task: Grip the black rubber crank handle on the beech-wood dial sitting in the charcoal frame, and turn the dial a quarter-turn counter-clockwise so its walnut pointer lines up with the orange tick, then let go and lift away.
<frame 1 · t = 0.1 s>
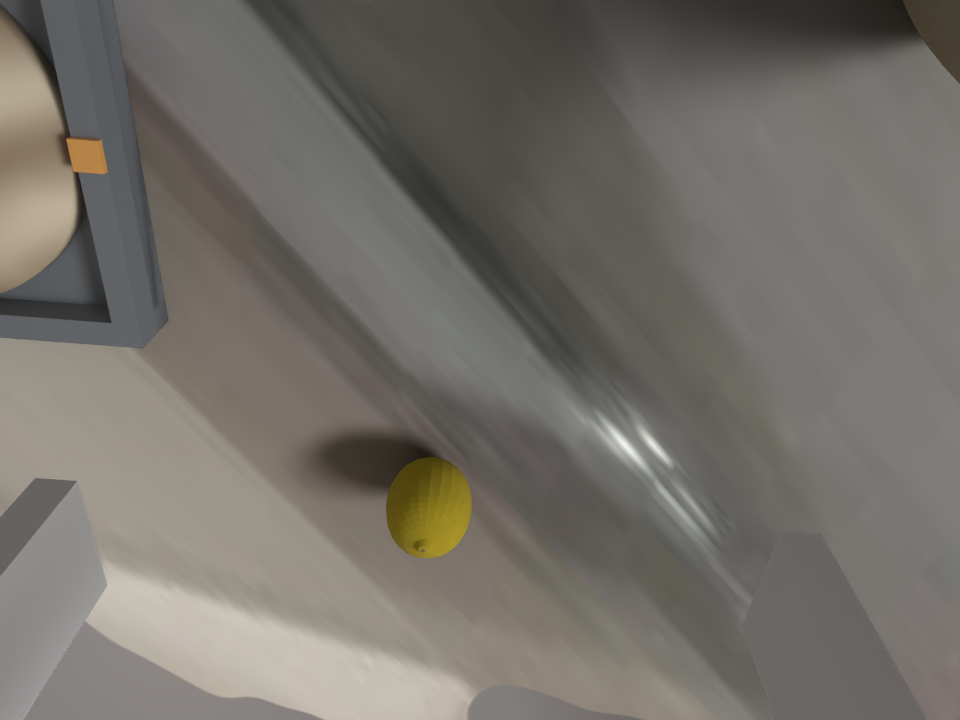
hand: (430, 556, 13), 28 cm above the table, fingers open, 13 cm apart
lemon: (434, 464, 48), on the table
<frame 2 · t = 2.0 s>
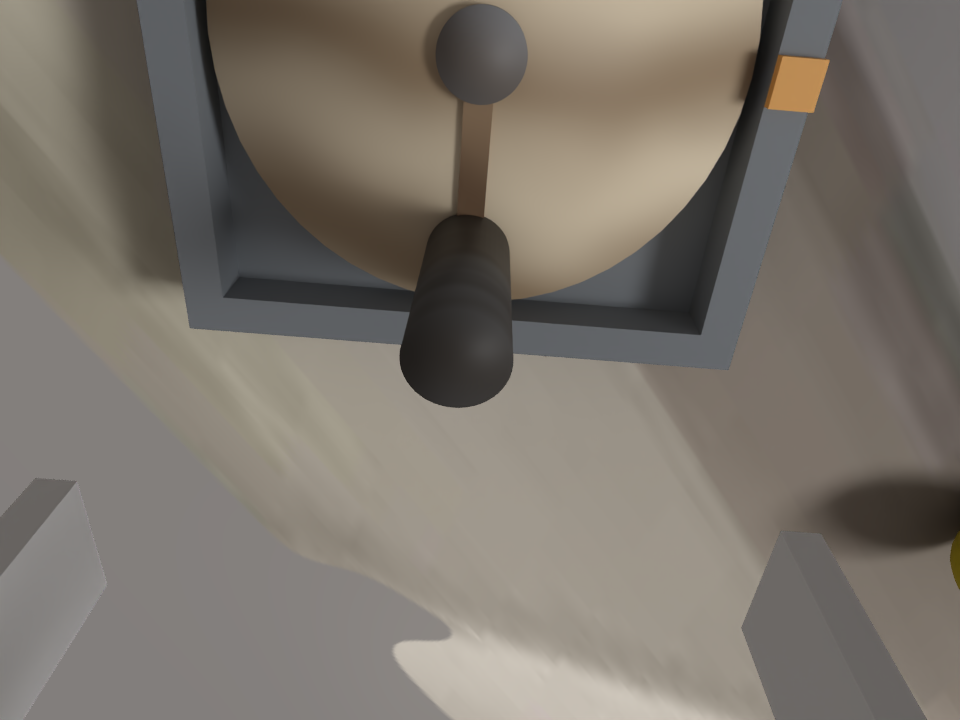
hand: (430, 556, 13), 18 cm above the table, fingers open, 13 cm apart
dial: (479, 69, 20), point 6 cm above the table, hinge at 0.0°
dial frame: (483, 44, 25), on the table
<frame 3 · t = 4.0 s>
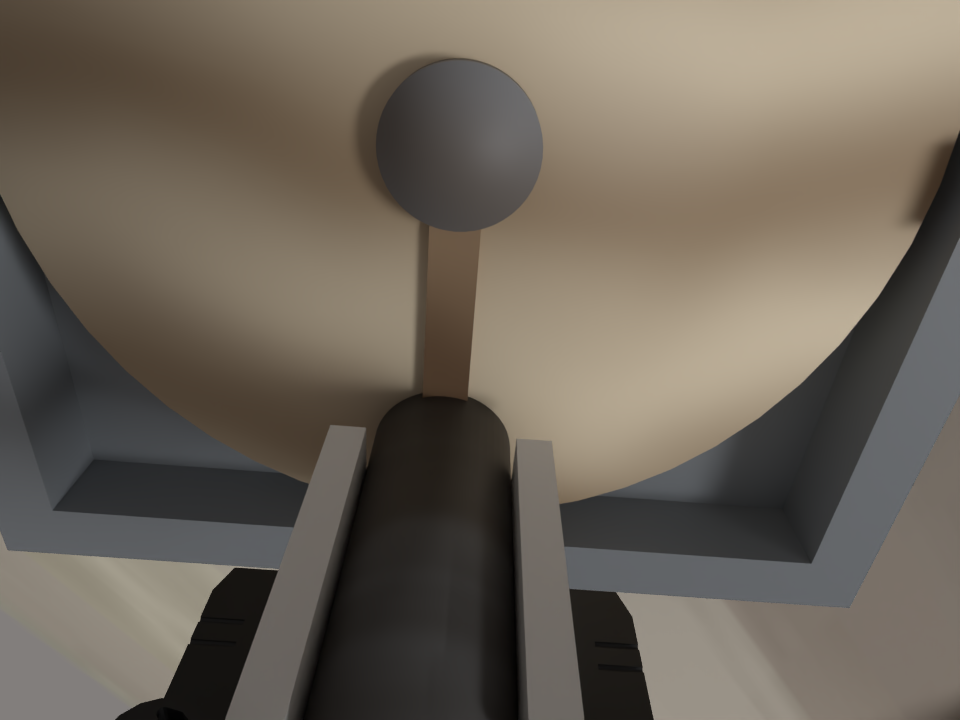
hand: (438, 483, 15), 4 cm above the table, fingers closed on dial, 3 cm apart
dial: (450, 199, 10), point 6 cm above the table, hinge at 0.0°, touching gripper
dial frame: (466, 114, 15), on the table
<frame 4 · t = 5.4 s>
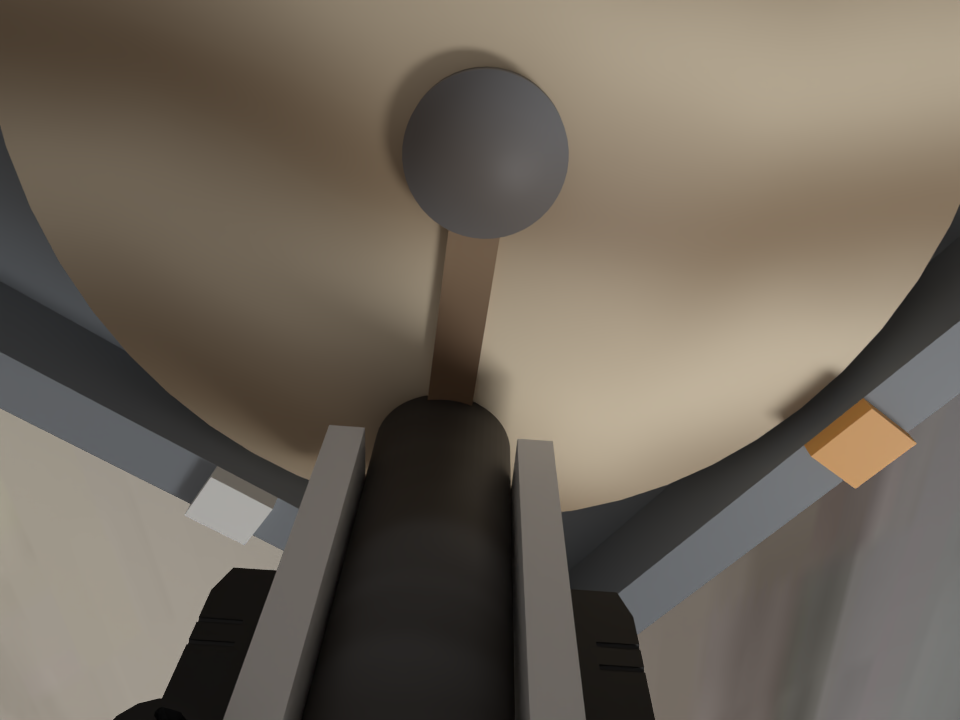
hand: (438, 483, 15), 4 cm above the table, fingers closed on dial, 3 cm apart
dial: (481, 208, 10), point 6 cm above the table, hinge at 28.3°, touching gripper
dial frame: (488, 120, 15), on the table
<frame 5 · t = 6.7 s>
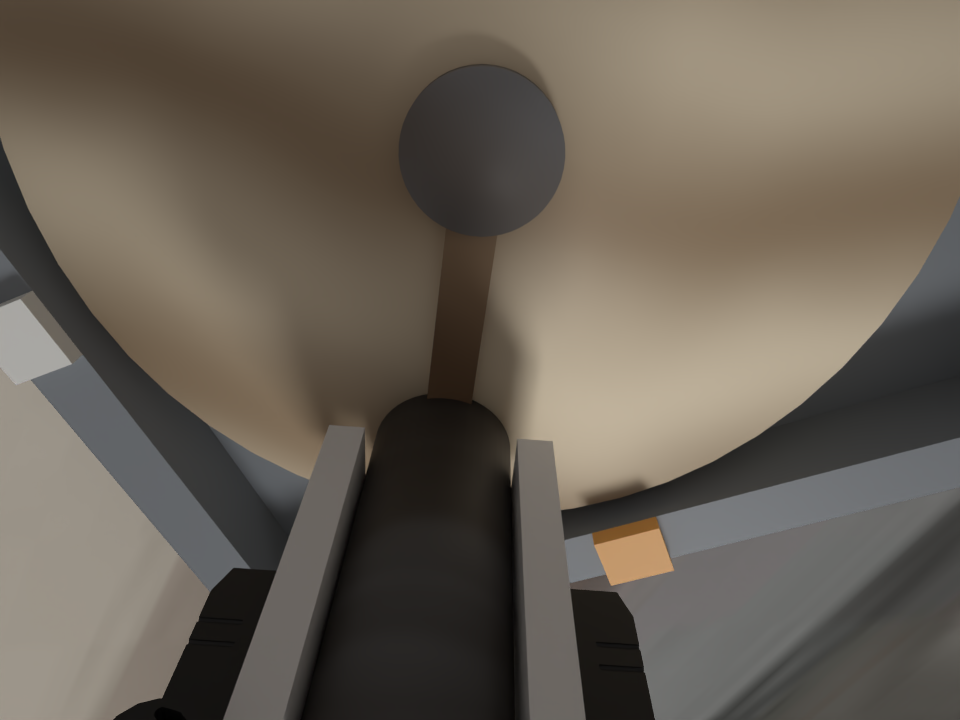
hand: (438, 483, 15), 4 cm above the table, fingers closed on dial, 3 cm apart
dial: (476, 206, 10), point 6 cm above the table, hinge at 61.0°, touching gripper
dial frame: (485, 118, 15), on the table
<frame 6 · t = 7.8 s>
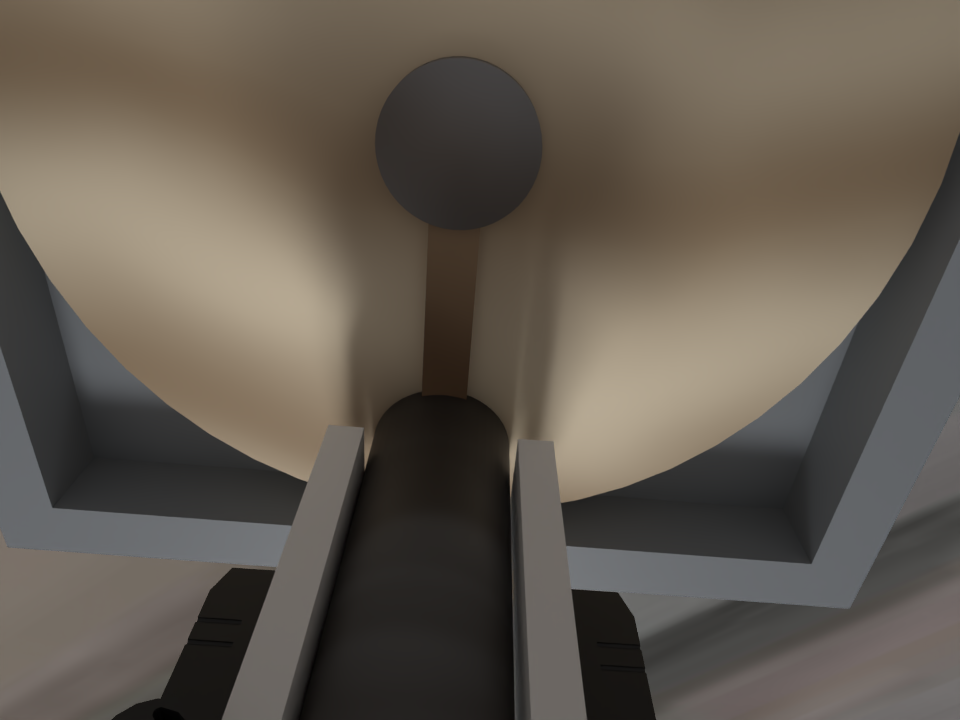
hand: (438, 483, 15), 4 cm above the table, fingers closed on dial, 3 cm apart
dial: (448, 197, 10), point 6 cm above the table, hinge at 90.0°, touching gripper
dial frame: (466, 112, 15), on the table
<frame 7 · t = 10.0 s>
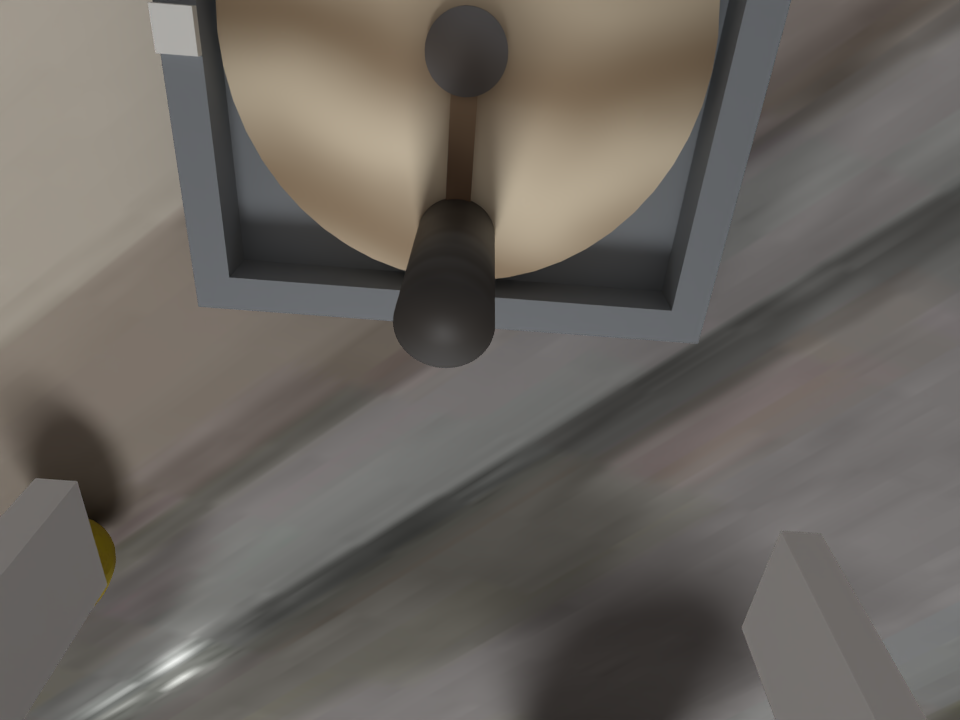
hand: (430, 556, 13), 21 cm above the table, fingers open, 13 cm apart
lemon: (93, 519, 41), on the table
dial: (463, 63, 22), point 6 cm above the table, hinge at 90.1°
dial frame: (469, 42, 27), on the table
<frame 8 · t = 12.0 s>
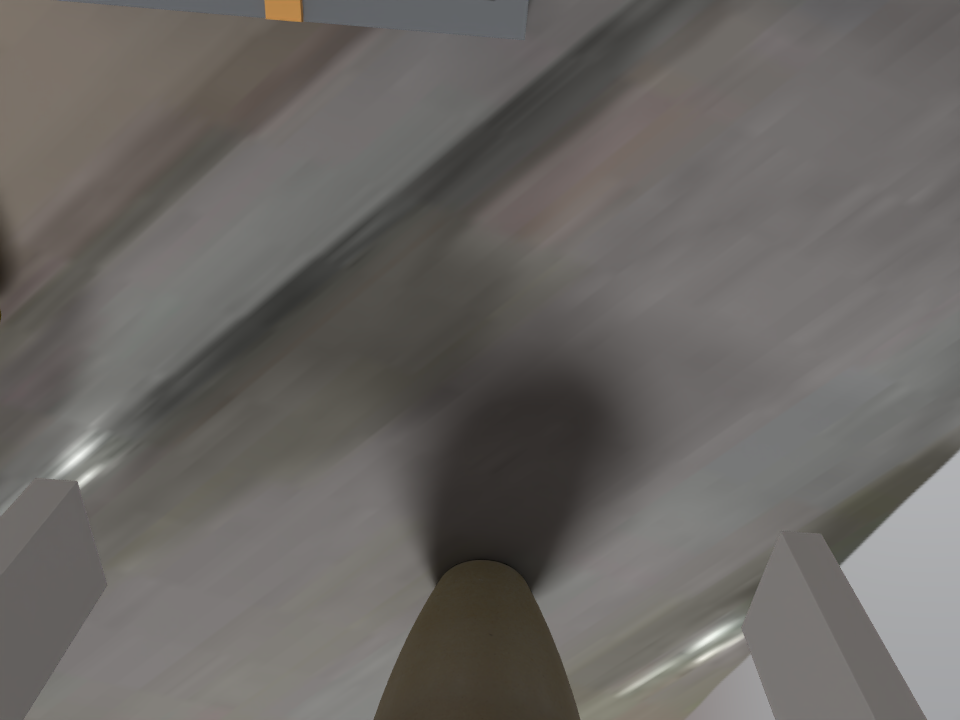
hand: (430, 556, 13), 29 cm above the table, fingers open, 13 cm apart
plant pot: (480, 589, 55), on the table
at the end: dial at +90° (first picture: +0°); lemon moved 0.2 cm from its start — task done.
